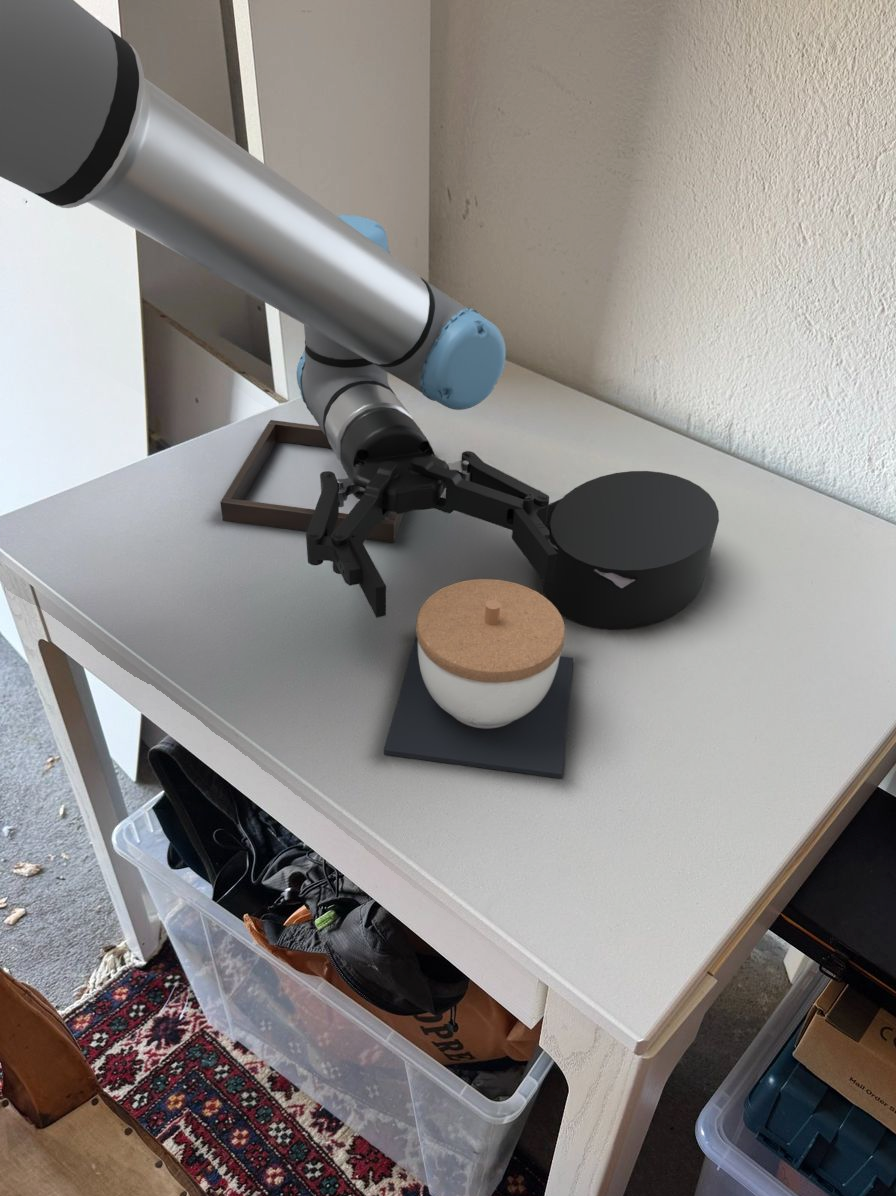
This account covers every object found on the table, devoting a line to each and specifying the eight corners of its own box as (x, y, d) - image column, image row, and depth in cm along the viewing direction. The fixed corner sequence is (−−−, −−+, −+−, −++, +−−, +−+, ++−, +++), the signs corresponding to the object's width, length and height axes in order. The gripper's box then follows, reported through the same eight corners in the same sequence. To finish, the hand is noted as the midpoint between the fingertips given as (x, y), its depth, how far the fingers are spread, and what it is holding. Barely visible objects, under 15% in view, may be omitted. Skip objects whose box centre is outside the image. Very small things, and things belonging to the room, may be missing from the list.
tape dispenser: (736, 579, 95) (756, 509, 90) (622, 653, 84) (638, 577, 79) (614, 518, 102) (627, 450, 97) (494, 579, 91) (502, 505, 86)
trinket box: (571, 741, 75) (587, 645, 69) (429, 760, 73) (433, 661, 66) (532, 648, 83) (544, 554, 76) (403, 662, 80) (404, 566, 74)
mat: (383, 754, 73) (383, 749, 73) (415, 641, 83) (415, 636, 83) (561, 778, 73) (562, 774, 73) (572, 662, 83) (573, 657, 82)
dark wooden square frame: (222, 520, 94) (220, 501, 92) (271, 436, 106) (270, 419, 104) (393, 542, 93) (393, 524, 92) (423, 456, 105) (424, 439, 104)
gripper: (505, 463, 96) (609, 594, 82) (241, 504, 87) (306, 657, 73) (512, 390, 91) (623, 515, 77) (232, 425, 82) (300, 573, 68)
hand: (469, 585), depth 75 cm, fingers open, 13 cm apart
